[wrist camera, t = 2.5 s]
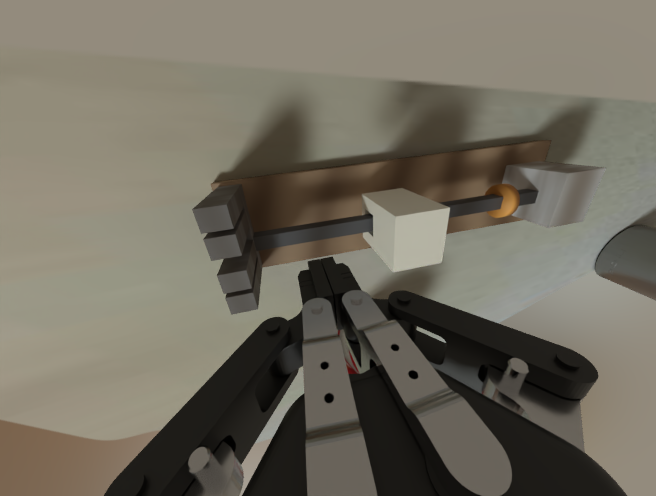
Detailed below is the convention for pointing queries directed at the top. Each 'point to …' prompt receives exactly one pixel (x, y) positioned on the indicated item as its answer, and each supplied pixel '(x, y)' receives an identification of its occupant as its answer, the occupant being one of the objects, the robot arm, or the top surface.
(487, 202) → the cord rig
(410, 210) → the sleeve
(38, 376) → the top surface
